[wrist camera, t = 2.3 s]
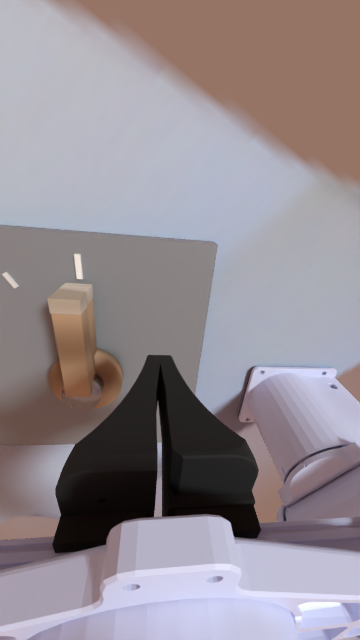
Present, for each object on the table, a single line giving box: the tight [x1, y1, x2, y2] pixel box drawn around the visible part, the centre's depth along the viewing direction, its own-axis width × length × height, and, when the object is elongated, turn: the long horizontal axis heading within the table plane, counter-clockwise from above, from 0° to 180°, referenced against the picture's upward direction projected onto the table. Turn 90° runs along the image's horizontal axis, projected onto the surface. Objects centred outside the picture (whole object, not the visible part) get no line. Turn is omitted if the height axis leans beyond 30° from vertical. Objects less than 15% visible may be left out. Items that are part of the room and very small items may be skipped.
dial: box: [47, 283, 123, 410], centre depth 18 cm, size 12×6×3 cm, turn 175°
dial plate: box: [0, 225, 218, 446], centre depth 21 cm, size 22×22×2 cm
